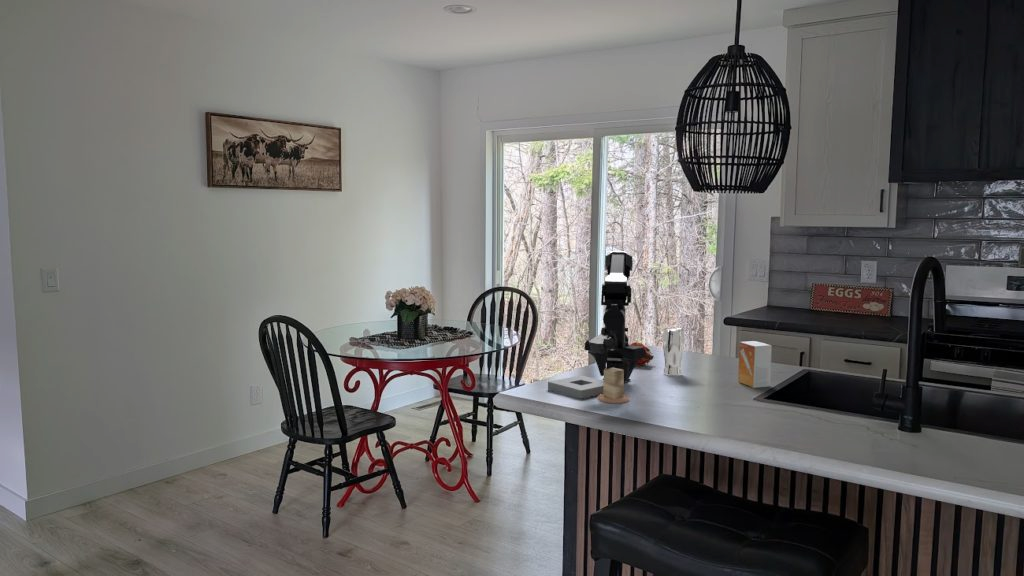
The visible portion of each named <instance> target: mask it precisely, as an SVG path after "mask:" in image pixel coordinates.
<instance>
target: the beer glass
mask: <svg viewBox="0 0 1024 576" xmlns="http://www.w3.org/2000/svg"><path fill="white" fill-rule="evenodd" d="M685 339H686V338H685V329H684V328H679V327H666V328H664V329H663V336H662V349H663V357H664V370H663V375H664V374H665V376H668V377H680V376H683V369H682V361H683V355H684V351H685Z"/></svg>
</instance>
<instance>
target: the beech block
mask: <svg viewBox="0 0 1024 576" xmlns="http://www.w3.org/2000/svg"><path fill="white" fill-rule="evenodd" d="M603 378H604V380H603V381H604V389H603V397H605V398H609V399H613V400H615V399H619V398H623V395H624V389H625V388H624V383H625V382H624V370H622V369H618V368H609V369H604V376H603Z"/></svg>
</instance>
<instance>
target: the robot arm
mask: <svg viewBox="0 0 1024 576" xmlns="http://www.w3.org/2000/svg"><path fill="white" fill-rule="evenodd" d="M627 252H628V251H624V250H611V251H609V254H607V255H604V256H605V259H604V260H605V262H604V269H605V271H607V273H606V274H607V275H606V276H605V277H604V283H602V284H601V299H600V300H601V301H600V306H605V307H604V314H603V316H602V320H603V324H604V327H601V329H600V334H598V335H596V336H594V337H593V338H591V339H587V340H586V341H585V342H584V350H585V351H587V353H588V354H590V355H591V356H592V357H593V358H594V361H595V363H596V366H597V369H598V372H599V375H600V377H603V378H602V380H603V381H604V369H609V368H618V369H622V370H624V383H627V382H631V380H632V379H630V377H631V375H632V373H633V372H634V369H635V367H636V366H637V365H636V364H637V363H638V361H639V360H642V358H644V357H646V350H645V348H644V347H640V346H631V344H632V343H629V337H628V335H627V333H626V332H629V327H626V307H629V306H630V304H631V303H632V287H631V285H630V284H628V280H629V278H630V277H631V271H633V264H634V263H633V261H634V260H633V256H632V255H631V254H628V253H627Z"/></svg>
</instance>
